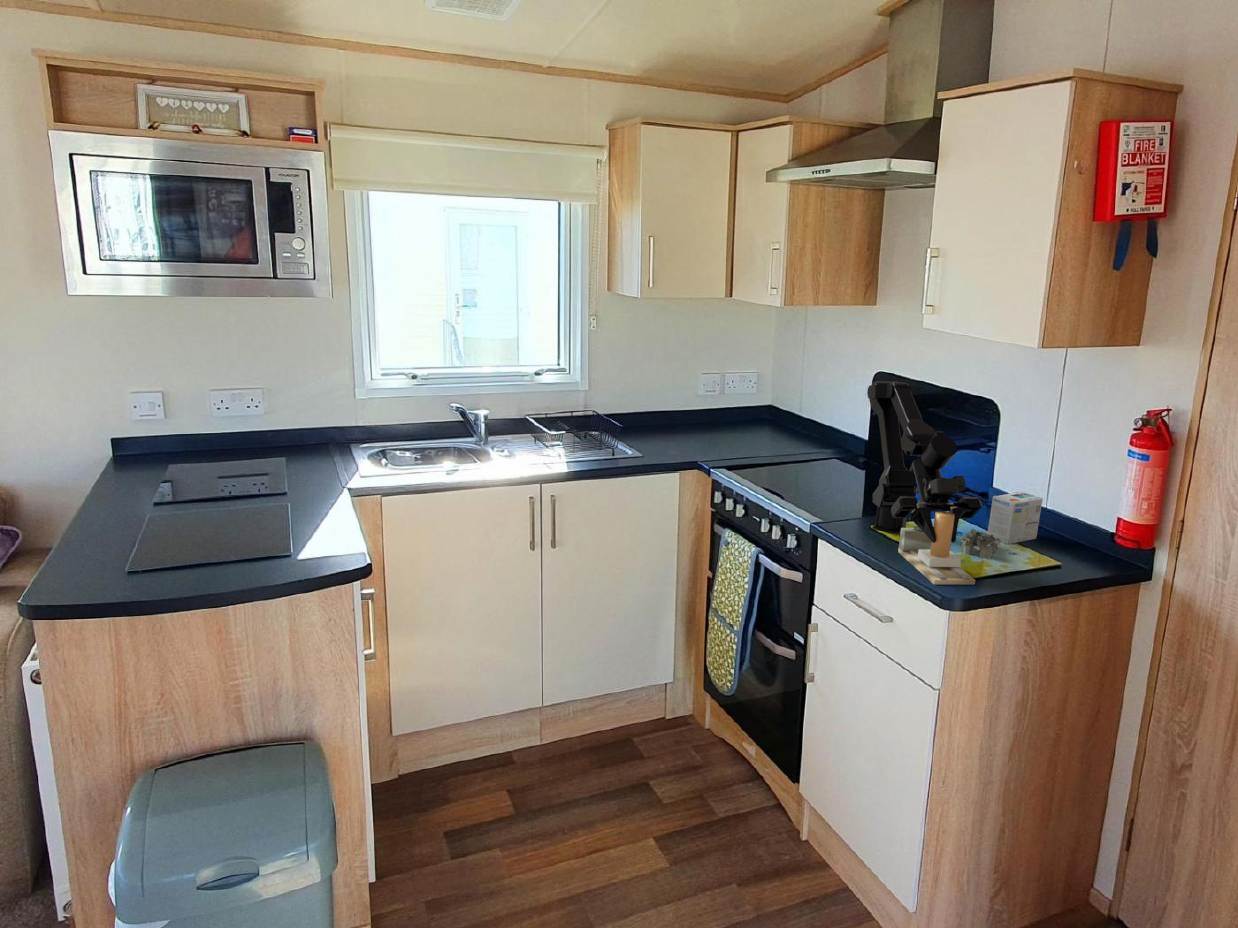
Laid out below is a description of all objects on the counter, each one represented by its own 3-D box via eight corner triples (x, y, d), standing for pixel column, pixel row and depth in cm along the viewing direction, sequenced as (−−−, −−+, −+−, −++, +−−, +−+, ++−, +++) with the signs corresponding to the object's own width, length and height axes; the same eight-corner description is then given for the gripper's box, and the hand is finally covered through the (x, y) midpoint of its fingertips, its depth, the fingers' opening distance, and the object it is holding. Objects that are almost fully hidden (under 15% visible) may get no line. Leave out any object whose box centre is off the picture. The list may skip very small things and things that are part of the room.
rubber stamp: (917, 556, 193) (923, 509, 190) (947, 557, 193) (954, 510, 191) (929, 566, 187) (935, 518, 184) (960, 566, 188) (966, 518, 185)
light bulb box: (1014, 531, 220) (1020, 490, 217) (1037, 539, 214) (1044, 497, 211) (985, 536, 215) (991, 495, 212) (1008, 545, 209) (1015, 502, 206)
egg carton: (988, 560, 199) (991, 544, 197) (955, 552, 203) (958, 536, 202) (1001, 548, 207) (1004, 532, 206) (969, 541, 211) (972, 525, 210)
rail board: (897, 551, 202) (900, 525, 200) (934, 551, 203) (937, 525, 201) (933, 584, 182) (937, 556, 181) (974, 584, 183) (978, 556, 182)
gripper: (902, 461, 188) (916, 525, 180) (984, 462, 189) (1002, 526, 182) (884, 485, 197) (897, 547, 190) (962, 486, 199) (979, 548, 191)
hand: (944, 542), depth 188 cm, fingers closed on rubber stamp, 4 cm apart
